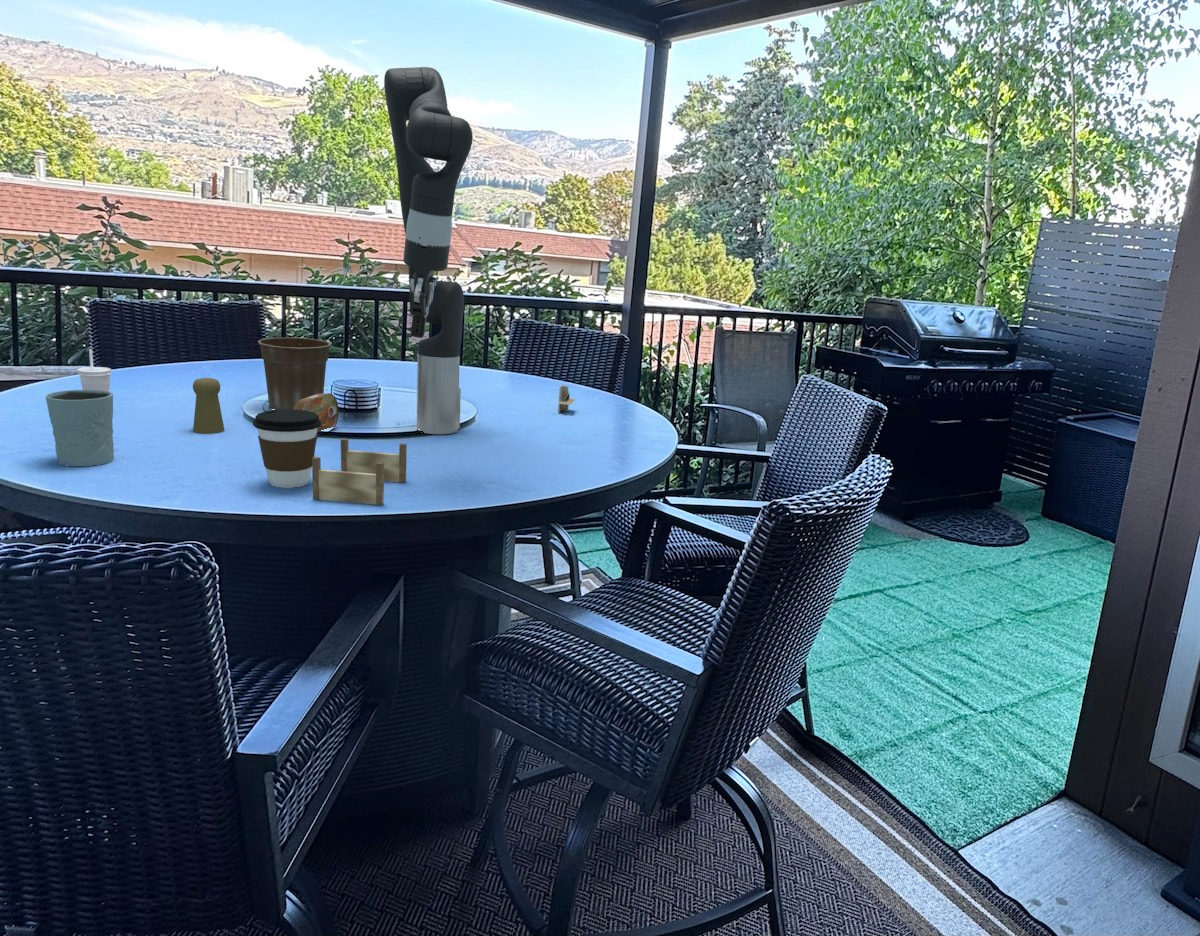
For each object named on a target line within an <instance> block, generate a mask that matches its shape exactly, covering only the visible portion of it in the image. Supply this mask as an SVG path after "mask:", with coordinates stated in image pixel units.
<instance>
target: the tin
mask: <svg viewBox="0 0 1200 936" xmlns="http://www.w3.org/2000/svg"><path fill="white" fill-rule="evenodd" d="M339 409H340V407H339V403H338V401H337V398H336V397H335V395H334V394H332V393H328V392H327V393H324V394H323V393H320V394H316V395H313V396H310V397H307V398H304V399H301V400H299V401H298V402H297V403H296V404H295V406H294V409H293V410H304V411H310V412H313V413H316V414H317V415H318V416H319V419H320V420H321V426H320V427H318V428H317V433H318V432H319V431H321V430H324V429H327V428H331V427H335V428H336V426H337V424H338V420H339V414H340V413H339V412H340V411H339ZM317 433H316V434H317Z"/></svg>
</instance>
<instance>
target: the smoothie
mask: <svg viewBox="0 0 1200 936" xmlns="http://www.w3.org/2000/svg"><path fill="white" fill-rule="evenodd" d="M88 353H89V354H88V355H89V366H87V367H80V368H78V369H77V375H78V376H79V379H80V384H81V387H82V388H81V389H82V390H100V391H107V392H110V385H111V384H110V383H111V382H110V381H111V375H112V374H113V373H112V368H109V367H105V366H94V360H93V359H94V358H93V349H92V348H90V349H88Z"/></svg>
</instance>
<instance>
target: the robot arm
mask: <svg viewBox="0 0 1200 936" xmlns="http://www.w3.org/2000/svg"><path fill="white" fill-rule="evenodd" d="M383 85H384V96H385V101H386V109H387V113H388V118H389V124H390V130H391V136H392V141H393V147H394V153H395V160H396V161H395V162H396V167H397V168H396V169H397V176H398V177H397V179H398V180H397V181H398V189H399V191H398V192H399V199H400V201H399V202H400V209H401V215H402V216H401V217H402V222H403V230H404V234H405V235H404V237H405V239H404V240H405V242H404V250H403V251H404V252H403V263H404V264H405V265H406V266H408V285H409V290H408V291H409V292H408V296H409V315H410V316H412V319H411V320H412V321H411V322H412V323H411V330H410V336H411V337H412V338H413V337H414V338H419V339H420V340H419V341H418V344H417V362H416V363H417V368H416V369H417V374H416V377H417V379H416V381H417V382H416V386H417V387H416V429H417V428H418V429H420V430H421V431H423V432H424V433H423V432H422V433H423V434H427V435H428V434H429V435H430V434H431V435H448V434H449V435H450V434H451V435H452V434H454V433H457V432H458V431H459V429H461V394H462V392H461V391H462V389H461V387H460V362H461V361H460V360H461V357H460V356H461V344H462V336H463V335H462V334H463V323H464V322H463V321H464V310H465V295H464V290H463V287H462V286H461V285H460V284H459V283H458V282H455V281H446V280H437V279H438V278H437V277H435V276H434V272H443V271H445V270H447V269H448V266H449V265H448V264H449V259H450V258H449V257H450V247H451V241H452V240H451V239H452V230H453V213H454V212H453V211H454V202H455V195H456V189H457V185H458V181H459V178H460V175H461V173H462V170H463V168H464V166H465V163H466V161H467V158H468V157H469V154H470V151H471V148H472V145H473V141H474V140H473V139H474V138H473V136H474V135H473V130H472V128H471V126H470V123H469V122H468V121H467V120H466V119H464V118H463V117H459V116H452V114H451V112H450V110H449V109H448V100H447V94H446V90H445V89H446V88H445V83H444V80H443V79H442V76H441V74H440V72H439V71H438V70H436V68H433V67H431V66H430V67H429V66H419V67H418V66H417V67H416V66H415V67H396V68H388V69H387V70H386V71H385V73H384V81H383ZM427 159H431V160H435V161H436V160H437V161H442V162H445V164H444V166H443V168H441V169H440V170H439V171H435V170H434V169H433V167H432V166H431V165H430V163H429V162H428V161H427ZM427 323H428V324H438V325H441V328H440V329H441V330H440V332H439V333H438V334H436V335H433V336H431V337H428V338H427V337H426V338H424V339H422V338H423V337H424V336H425V334H426V326H427V325H426V324H427Z"/></svg>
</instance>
